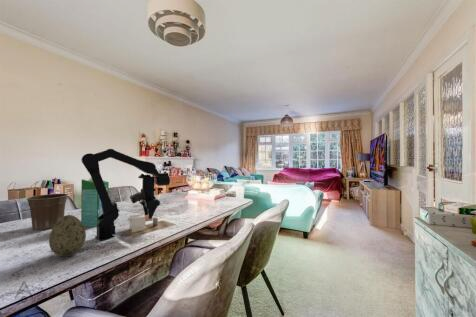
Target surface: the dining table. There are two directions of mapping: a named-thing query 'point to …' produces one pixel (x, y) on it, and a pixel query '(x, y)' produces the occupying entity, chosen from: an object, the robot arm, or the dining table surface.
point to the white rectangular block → (138, 222)
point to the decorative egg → (67, 236)
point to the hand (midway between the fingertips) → (148, 217)
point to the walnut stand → (150, 227)
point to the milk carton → (91, 203)
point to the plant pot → (46, 210)
